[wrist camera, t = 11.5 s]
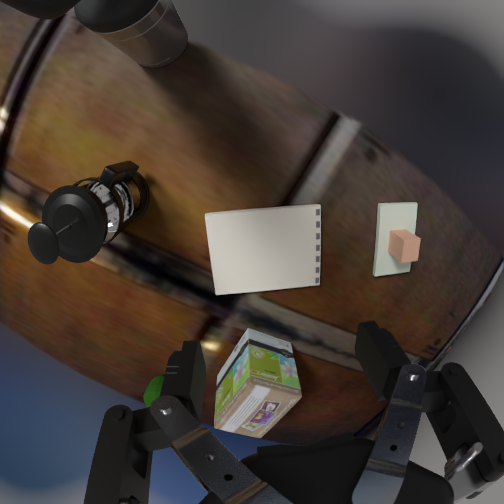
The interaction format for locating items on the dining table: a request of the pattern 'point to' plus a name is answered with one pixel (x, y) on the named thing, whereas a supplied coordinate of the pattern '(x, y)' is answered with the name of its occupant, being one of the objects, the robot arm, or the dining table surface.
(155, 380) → the bell pepper
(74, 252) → the french press
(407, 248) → the stub
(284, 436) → the dining table surface
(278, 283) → the white notebook
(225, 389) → the tea box
